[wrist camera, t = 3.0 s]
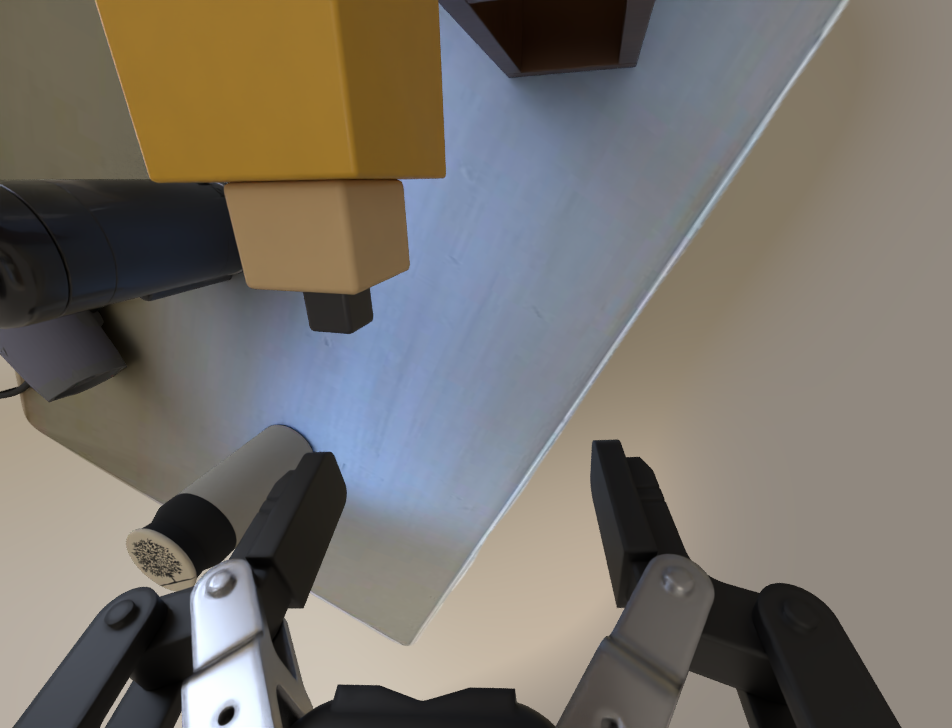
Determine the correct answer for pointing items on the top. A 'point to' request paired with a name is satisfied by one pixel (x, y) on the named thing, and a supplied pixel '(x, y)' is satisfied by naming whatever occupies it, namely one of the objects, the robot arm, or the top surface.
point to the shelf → (555, 33)
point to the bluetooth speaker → (62, 354)
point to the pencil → (292, 129)
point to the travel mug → (214, 510)
